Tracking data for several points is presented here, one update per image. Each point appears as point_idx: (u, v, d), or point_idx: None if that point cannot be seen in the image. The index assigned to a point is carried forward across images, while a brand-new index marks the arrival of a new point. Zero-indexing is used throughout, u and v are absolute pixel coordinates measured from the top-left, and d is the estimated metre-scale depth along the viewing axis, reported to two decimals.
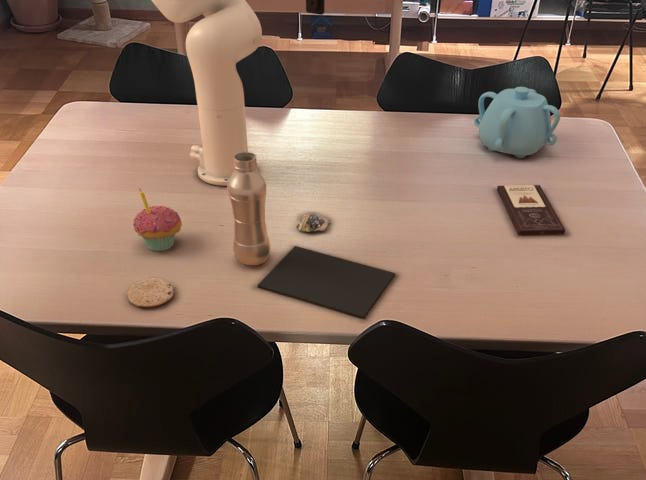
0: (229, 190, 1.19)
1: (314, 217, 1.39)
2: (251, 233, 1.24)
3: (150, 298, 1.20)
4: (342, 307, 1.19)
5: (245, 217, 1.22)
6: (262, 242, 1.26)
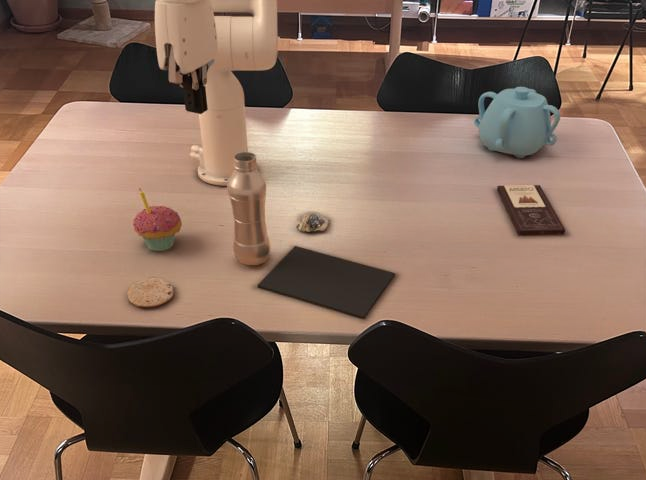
0: (229, 190, 1.19)
1: (314, 217, 1.39)
2: (251, 233, 1.24)
3: (150, 298, 1.20)
4: (342, 307, 1.19)
5: (245, 217, 1.22)
6: (262, 242, 1.26)
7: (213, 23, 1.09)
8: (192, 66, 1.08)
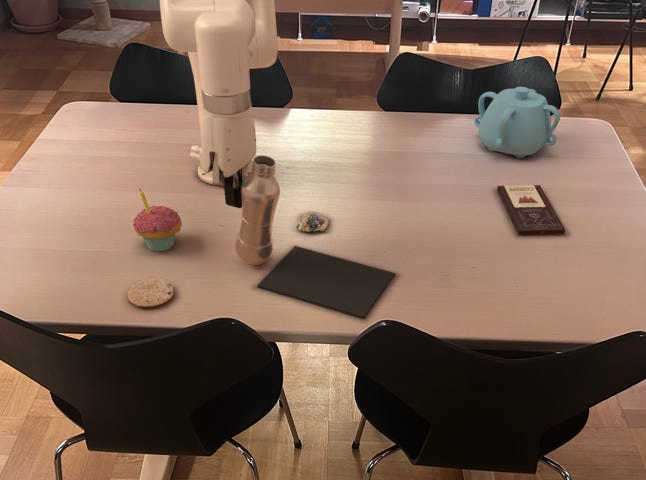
0: (243, 191, 1.18)
1: (314, 217, 1.39)
2: (258, 235, 1.23)
3: (150, 298, 1.20)
4: (342, 307, 1.19)
5: (255, 219, 1.21)
6: (266, 244, 1.26)
7: (253, 128, 1.18)
8: (234, 170, 1.16)
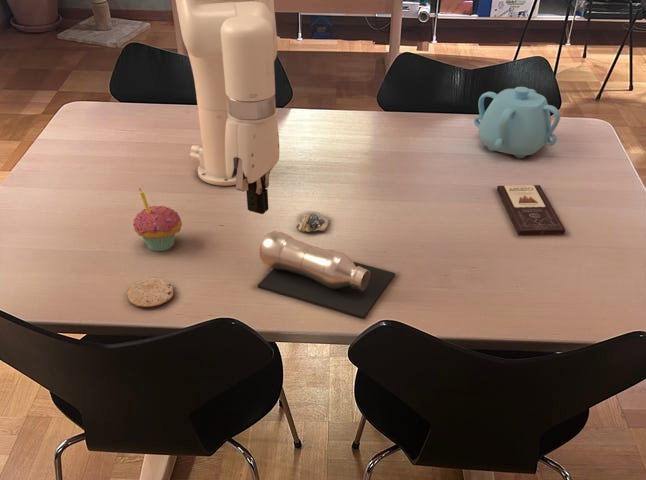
0: (329, 270, 1.19)
1: (314, 217, 1.39)
2: (293, 271, 1.24)
3: (150, 298, 1.20)
4: (342, 307, 1.19)
5: (307, 274, 1.22)
6: None
7: (277, 133, 1.16)
8: (258, 175, 1.15)
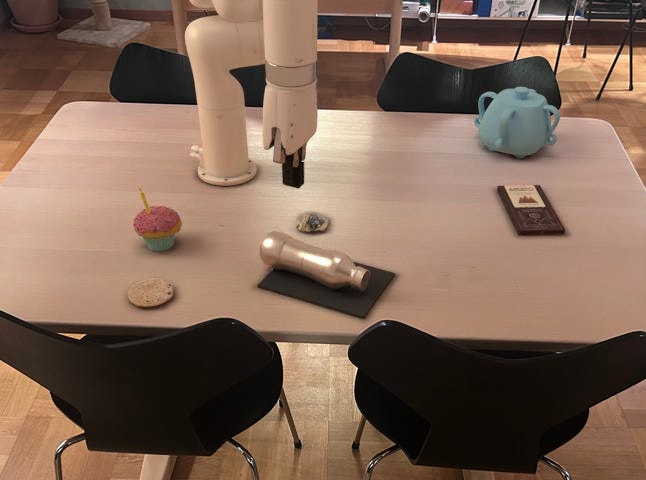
0: (329, 270, 1.19)
1: (314, 217, 1.39)
2: (293, 271, 1.24)
3: (150, 298, 1.20)
4: (342, 307, 1.19)
5: (307, 274, 1.22)
6: None
7: (316, 103, 1.10)
8: (296, 147, 1.09)
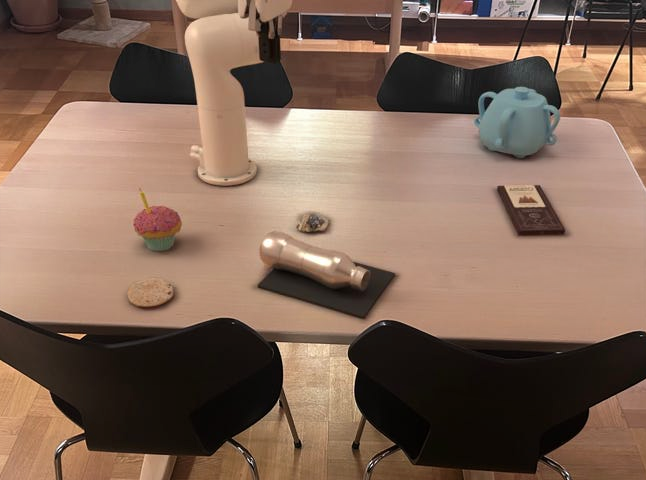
0: (329, 270, 1.19)
1: (314, 217, 1.39)
2: (293, 271, 1.24)
3: (150, 298, 1.20)
4: (342, 307, 1.19)
5: (307, 274, 1.22)
6: None
7: None
8: (271, 14, 1.12)
